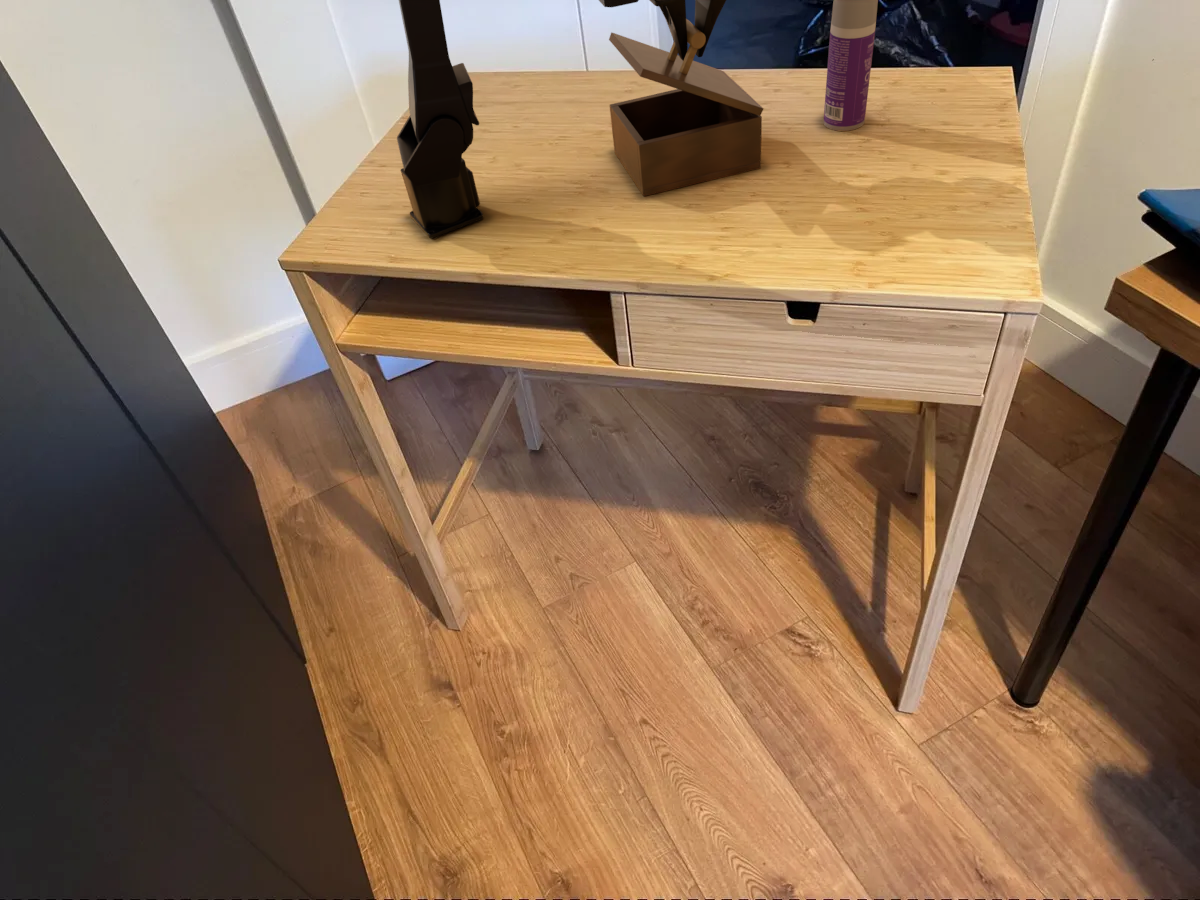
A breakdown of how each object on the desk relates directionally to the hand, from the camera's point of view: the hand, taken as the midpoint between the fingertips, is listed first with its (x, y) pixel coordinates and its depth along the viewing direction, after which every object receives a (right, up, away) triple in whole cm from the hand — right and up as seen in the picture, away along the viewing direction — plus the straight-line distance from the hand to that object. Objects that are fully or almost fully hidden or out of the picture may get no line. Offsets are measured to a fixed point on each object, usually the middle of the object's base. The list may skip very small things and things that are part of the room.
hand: (691, 57), depth 86 cm
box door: (-1, -2, +1) cm, 2 cm away
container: (+19, -3, +10) cm, 22 cm away
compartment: (0, -8, +8) cm, 11 cm away
